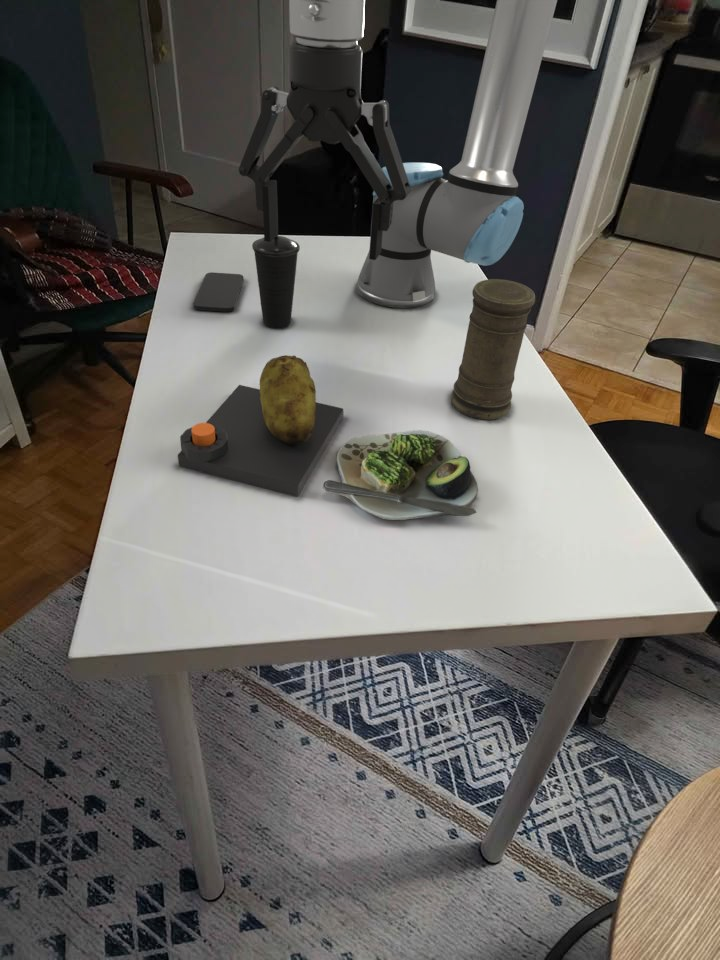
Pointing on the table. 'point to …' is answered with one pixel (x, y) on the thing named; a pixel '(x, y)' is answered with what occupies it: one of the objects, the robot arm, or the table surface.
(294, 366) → the potato
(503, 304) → the container
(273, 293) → the drinking cup
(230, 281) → the phone
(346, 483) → the salad plate
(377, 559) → the table surface
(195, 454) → the scale
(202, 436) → the button
